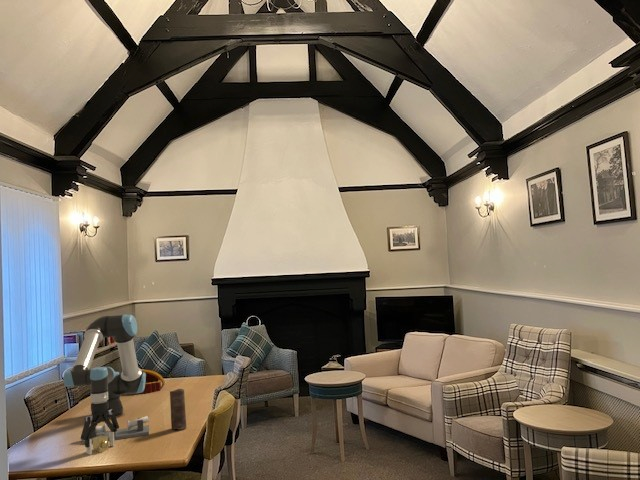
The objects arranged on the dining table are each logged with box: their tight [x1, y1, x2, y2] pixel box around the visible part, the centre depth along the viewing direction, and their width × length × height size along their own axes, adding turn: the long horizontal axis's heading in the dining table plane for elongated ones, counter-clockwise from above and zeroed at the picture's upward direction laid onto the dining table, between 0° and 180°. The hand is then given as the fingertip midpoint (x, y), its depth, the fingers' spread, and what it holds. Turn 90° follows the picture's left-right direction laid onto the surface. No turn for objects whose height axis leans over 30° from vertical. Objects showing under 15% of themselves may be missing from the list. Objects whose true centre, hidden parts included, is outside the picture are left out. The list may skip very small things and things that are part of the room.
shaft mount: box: [82, 415, 150, 445], centre depth 255 cm, size 30×12×8 cm, turn 108°
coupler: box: [92, 435, 109, 454], centre depth 235 cm, size 7×4×6 cm, turn 58°
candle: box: [169, 388, 187, 430], centre depth 262 cm, size 8×7×20 cm
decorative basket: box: [140, 368, 166, 394], centre depth 357 cm, size 34×29×15 cm
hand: (100, 449), depth 235 cm, fingers open, 11 cm apart
